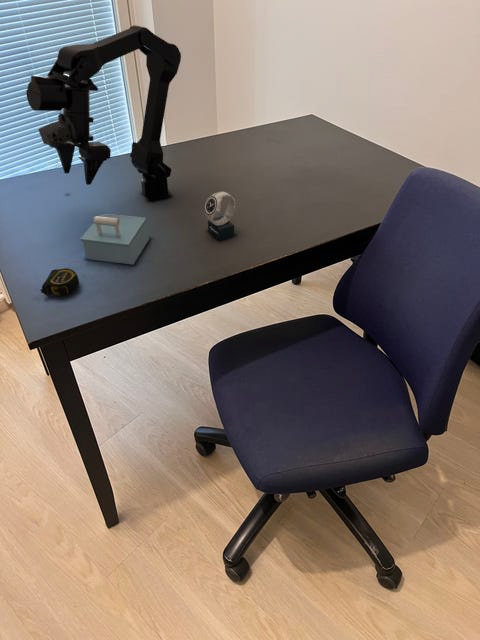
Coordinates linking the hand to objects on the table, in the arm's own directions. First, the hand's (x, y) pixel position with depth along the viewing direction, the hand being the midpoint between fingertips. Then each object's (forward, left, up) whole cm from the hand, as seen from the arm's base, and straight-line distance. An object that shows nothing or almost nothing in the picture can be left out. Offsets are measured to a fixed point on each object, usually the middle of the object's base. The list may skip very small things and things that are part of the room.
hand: (77, 178), depth 117 cm
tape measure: (+13, +25, -13) cm, 31 cm away
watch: (-29, +21, -13) cm, 38 cm away
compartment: (-3, +15, -13) cm, 20 cm away
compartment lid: (-3, +15, -7) cm, 17 cm away
